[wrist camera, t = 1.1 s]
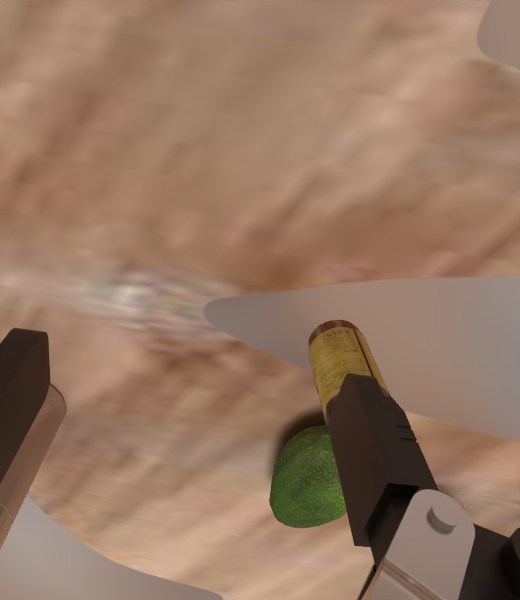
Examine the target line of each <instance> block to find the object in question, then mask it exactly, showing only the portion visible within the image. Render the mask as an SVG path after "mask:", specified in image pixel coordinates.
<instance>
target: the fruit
mask: <svg viewBox="0 0 520 600" xmlns="http://www.w3.org/2000/svg"><path fill="white" fill-rule="evenodd" d="M269 502H270V506H271V508H272V511H273V513H274V516H275V518H276V519H277V520H278V521H279V522H281V523H283V524H285V525H287V526H290V527H294V528H309V527H315V526H320V525H323V524H325V523H328V522H331V521H333V520H336V519H338V518H340V517H342V516H343V515H344V514H345V513H346V512H347V510H346V505H345V501H344V496H343V492H342V487H341V483H340V478H339V474H338V470H337V465H336V461H335V456H334V452H333V447H332V443H331V438H330V434H329V432H328V429H327V426H326V425H317V426H312V427H308V428H306V429H304V430H302V431H300V432H299V433H297V434H296V435H295V436H294V437H292V438H291V439H290V440H289V441H288V442H287V444H286V445H285V446H284V447H283V448H282V450H281V452H280V454H279V456H278V459H277V461H276V464H275V467H274V472H273V477H272V484H271V492H270V499H269Z"/></svg>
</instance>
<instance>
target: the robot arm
mask: <svg viewBox="0 0 520 600" xmlns="http://www.w3.org/2000/svg"><path fill="white" fill-rule="evenodd" d="M64 415H65V404H64V400H63V399H62V397H61V395H60V394H59V393H58V392H57V390H56V389H55V388H54V387H52V386H51V385H50V367H49V343H48V335H47V333H46V332H42V331H34V330H27V329H20V328H13V329H12V330H11V331H10V332H9V333H8V335H7V336H6V337H5V338H4V340H3V341H2V342H1V344H0V549H1V547H2V545H3V543H4V541H5V539H6V536H7V535H8V532H9V530H10V528H11V526H12V524H13V522H14V519H15V518H16V515H17V513H18V511H19V509H20V507H21V505H22V503H23V501H24V499H25V497H26V495H27V493H28V491H29V488H30V486H31V484H32V482H33V480H34V478H35V476H36V474H37V472H38V470H39V468H40V466H41V464H42V461H43V459H44V457H45V455H46V453H47V451H48V449H49V447H50V445H51V443H52V441H53V439H54V437H55V435H56V433H57V430H58V428H59V426H60V424H61V422H62V420H63V418H64ZM329 433H330V438H331V443H332V447H333V452H334V456H335V461H336V465H337V470H338V474H339V478H340V483H341V487H342V492H343V496H344V501H345V505H346V510H347V514H348V519H349V523H350V528H351V532H352V536H353V541H354V545H355V546H363V547H371V550H372V554H373V558H374V564H373V566H372V568H371V570H370V572H369V574H368V576H367V578H366V580H365V582H364V584H363V586H362V588H361V590H360V593H359V595H358V597H357V599H356V600H520V528H518V529H517V530H516V531H515V532H514V533H513V534H512V535H511V537H510V538H508V537H506V536H503V535H501V534H498V533H496V532H493V531H491V530H488V529H486V528H483V527H481V526H478V525H476V524H474V523H473V522H472V520H471V518H470V516H469V515H468V513H467V512H466V511H465V509H464V508H463V507H462V506H461V505H460V504H459V503H458V502H457V501H455V500H454V499H453V498H451V497H450V496H448V495H446V494H444V493H442V492H439V490H438V488H437V485H436V483H435V481H434V479H433V476H432V474H431V472H430V469H429V467H428V465H427V463H426V460H425V458H424V456H423V453H422V451H421V449H420V446H419V444H418V443H416V437H415V435H414V433H413V430H411V426H410V424H409V421H408V419H407V417H406V414H405V412H404V411H403V410H402V408H401V407H400V406H399V405H398V404H397V403H396V402H395V401H394V399H393V398H392V397H387V396H384V395H383V393H382V390H381V388H380V385H379V383H378V380H377V379H376V377H374V376H367V375H360V374H353V373H348V374H347V375H346V376H345V378H344V380H343V383H342V385H341V388H340V391H339V393H338V396H337V398H336V401H335V404H334V406H333V409H332V411H331V415H330V421H329Z"/></svg>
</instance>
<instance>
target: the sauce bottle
mask: <svg viewBox="0 0 520 600" xmlns="http://www.w3.org/2000/svg"><path fill="white" fill-rule="evenodd" d="M309 359H310V363H311V366H312V371H313V375H314V378H315V383H316V388H317V391H318V394H319V398H320V402H321V406H322V410H323V415H324V418H325V422H326V426H327V429H328V432H329V421H330V415H331V411H332V409H333V406H334V404H335V401H336V398H337V396H338V393H339V391H340V388H341V385H342V383H343V380H344V378H345V376H346V375H347V374H348V373H353V374H360V375H367V376H374V377H376V379H377V380H378V383H379V385H380V388H381V390H382V393H383V395H384V396H387V397H391V396H390V394H389V391H388V389H387V387H386V385H385V383H384V380H383V378H382V376H381V374H380V371H379V369H378V367H377V365H376V362H375V360H374V358H373V356H372V353H371V351H370V349H369V346H368V344H367V342H366V340H365V338H364V336H363V334H362V333H361V332H360V331H359V329H358V328H356V326H354V325H353V324H352V323H350V322H348V321H344V320H335V321H328V322H325V323H324V324H321V325H320V326H318V327H317V328H316V329H315V330H314V332H313V333H312V334H311V336H310V338H309ZM329 434H330V433H329Z"/></svg>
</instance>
